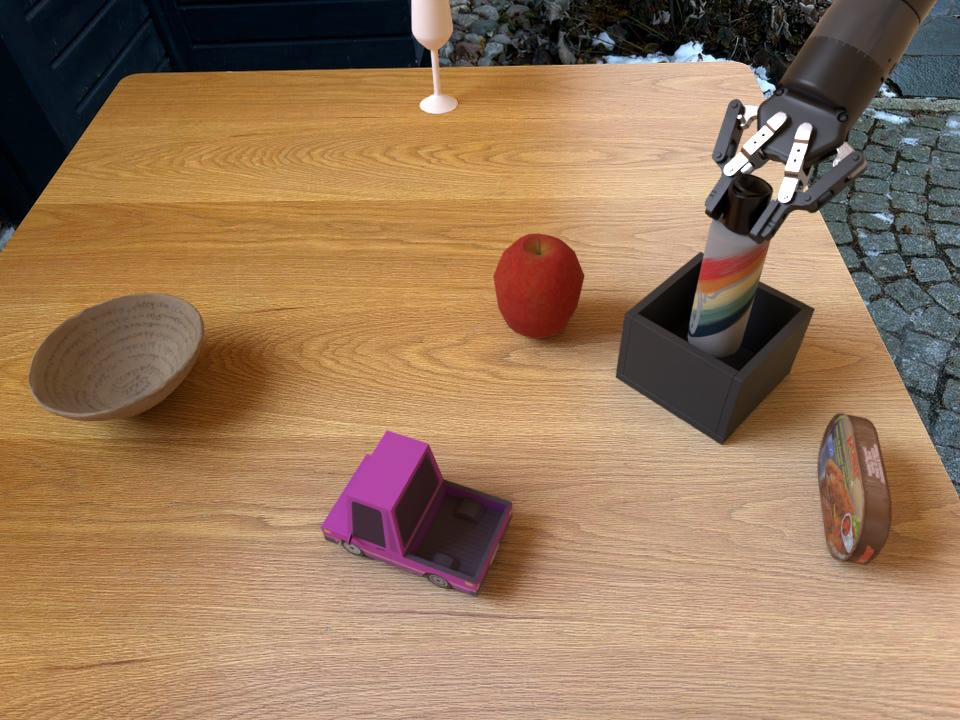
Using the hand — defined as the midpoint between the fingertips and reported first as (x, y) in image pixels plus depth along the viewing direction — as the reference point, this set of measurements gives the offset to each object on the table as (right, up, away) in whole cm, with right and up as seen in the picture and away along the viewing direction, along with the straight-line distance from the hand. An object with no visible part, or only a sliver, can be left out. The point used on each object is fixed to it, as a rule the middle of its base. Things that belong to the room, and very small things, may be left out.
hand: (732, 227), depth 69 cm
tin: (+12, -27, +4) cm, 30 cm away
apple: (-16, -8, +23) cm, 29 cm away
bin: (+2, -14, +16) cm, 22 cm away
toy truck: (-29, -29, +4) cm, 41 cm away
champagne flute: (-30, +32, +62) cm, 76 cm away
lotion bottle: (+2, -10, +13) cm, 16 cm away
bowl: (-62, -16, +18) cm, 67 cm away
